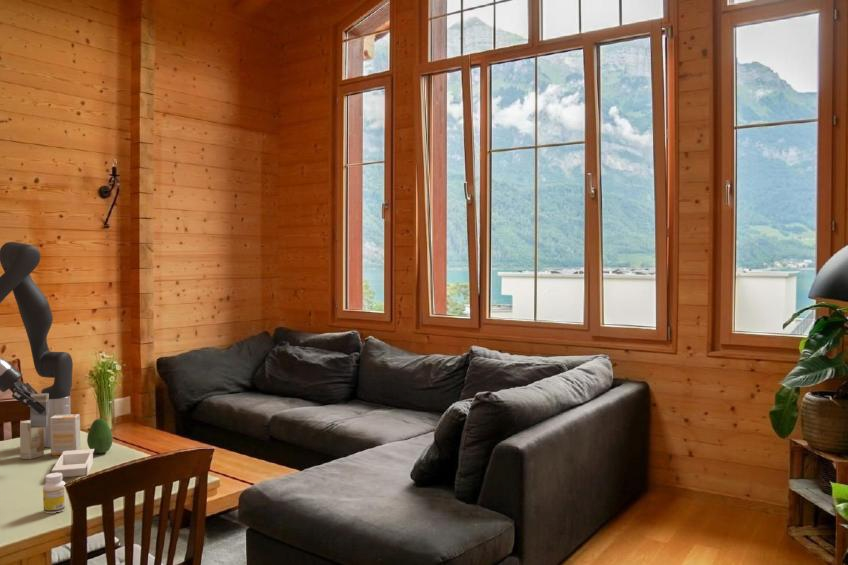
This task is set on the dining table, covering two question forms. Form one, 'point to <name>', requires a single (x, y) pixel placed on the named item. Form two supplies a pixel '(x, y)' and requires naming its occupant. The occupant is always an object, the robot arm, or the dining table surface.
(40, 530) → the dining table surface
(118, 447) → the dining table surface
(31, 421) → the capped block
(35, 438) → the skincare box
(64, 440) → the supplement box
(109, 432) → the avocado
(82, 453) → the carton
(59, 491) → the supplement bottle
